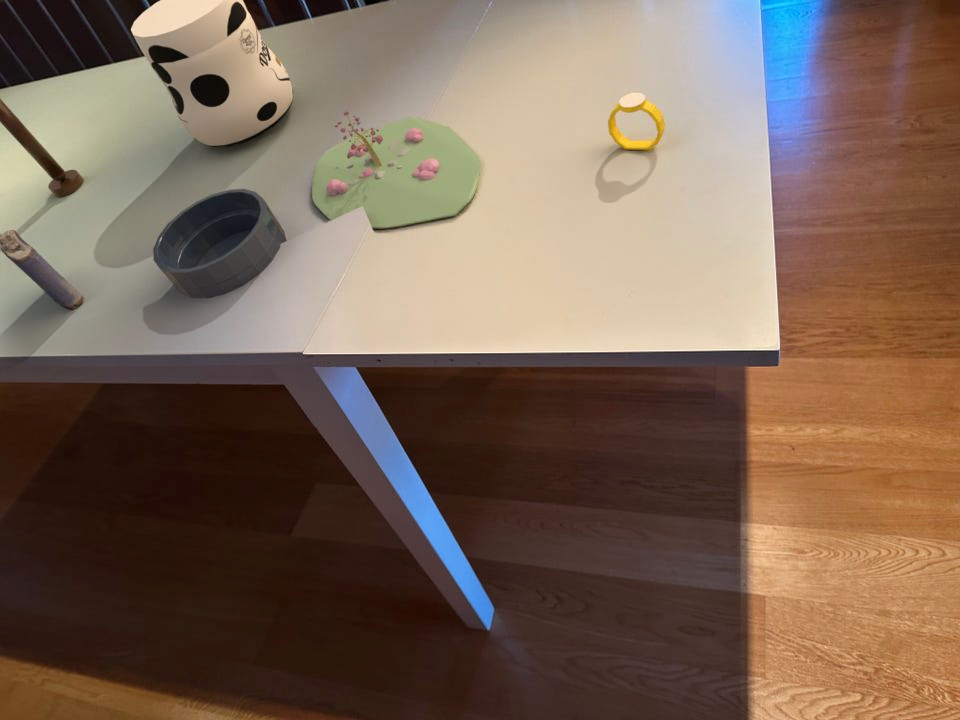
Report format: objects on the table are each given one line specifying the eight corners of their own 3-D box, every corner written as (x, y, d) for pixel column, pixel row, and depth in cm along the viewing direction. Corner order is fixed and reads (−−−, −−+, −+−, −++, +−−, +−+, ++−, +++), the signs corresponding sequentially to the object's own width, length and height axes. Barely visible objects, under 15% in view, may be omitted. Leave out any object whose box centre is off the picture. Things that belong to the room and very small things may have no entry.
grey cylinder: (88, 299, 85) (22, 237, 77) (68, 315, 84) (0, 254, 76) (62, 276, 91) (-2, 215, 83) (44, 290, 90) (-23, 230, 82)
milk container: (322, 92, 104) (264, -29, 90) (256, 162, 96) (181, 41, 82) (245, 89, 112) (181, -22, 98) (178, 154, 104) (98, 42, 90)
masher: (53, 201, 105) (-54, 87, 90) (56, 185, 109) (-48, 73, 94) (83, 188, 105) (-20, 72, 91) (84, 173, 109) (-15, 58, 94)
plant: (525, 134, 82) (508, 66, 75) (436, 248, 73) (408, 181, 67) (374, 118, 95) (347, 57, 88) (282, 213, 86) (245, 154, 79)
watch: (668, 141, 74) (665, 93, 70) (660, 157, 73) (656, 108, 68) (617, 137, 77) (611, 90, 72) (608, 152, 76) (602, 105, 71)
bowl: (186, 326, 77) (154, 291, 72) (181, 257, 86) (152, 221, 81) (298, 275, 77) (272, 236, 72) (280, 211, 86) (257, 173, 82)
